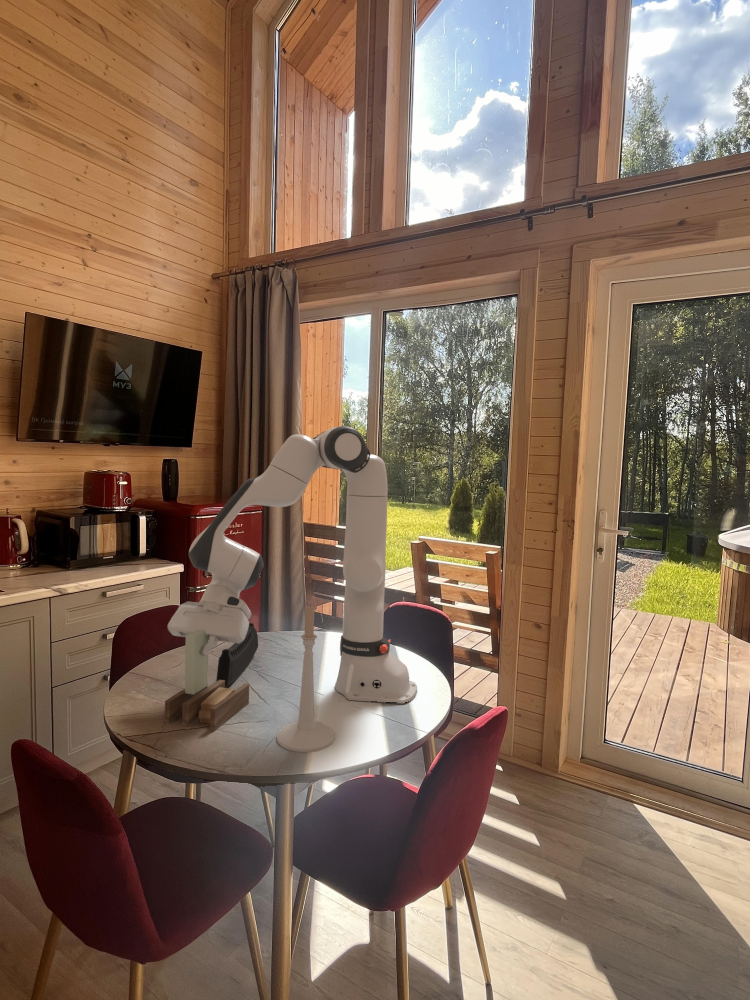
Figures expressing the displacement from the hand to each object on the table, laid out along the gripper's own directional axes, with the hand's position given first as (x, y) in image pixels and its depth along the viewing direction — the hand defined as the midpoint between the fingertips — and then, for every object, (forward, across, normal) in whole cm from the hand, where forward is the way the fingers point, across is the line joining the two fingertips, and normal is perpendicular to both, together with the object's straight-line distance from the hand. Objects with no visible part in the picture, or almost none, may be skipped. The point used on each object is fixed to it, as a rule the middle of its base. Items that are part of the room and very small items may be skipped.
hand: (195, 653), depth 138 cm
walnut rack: (+10, +3, +10) cm, 15 cm away
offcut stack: (+10, +6, +10) cm, 16 cm away
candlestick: (+13, +30, +8) cm, 34 cm away
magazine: (-10, -4, +30) cm, 32 cm away
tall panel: (+6, 0, +7) cm, 9 cm away
